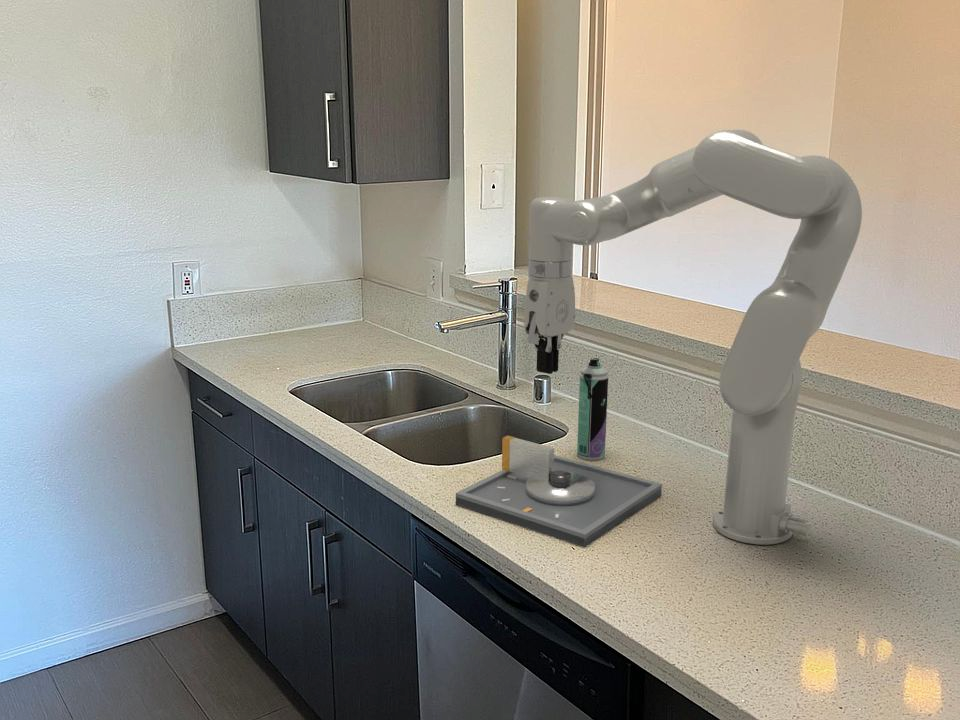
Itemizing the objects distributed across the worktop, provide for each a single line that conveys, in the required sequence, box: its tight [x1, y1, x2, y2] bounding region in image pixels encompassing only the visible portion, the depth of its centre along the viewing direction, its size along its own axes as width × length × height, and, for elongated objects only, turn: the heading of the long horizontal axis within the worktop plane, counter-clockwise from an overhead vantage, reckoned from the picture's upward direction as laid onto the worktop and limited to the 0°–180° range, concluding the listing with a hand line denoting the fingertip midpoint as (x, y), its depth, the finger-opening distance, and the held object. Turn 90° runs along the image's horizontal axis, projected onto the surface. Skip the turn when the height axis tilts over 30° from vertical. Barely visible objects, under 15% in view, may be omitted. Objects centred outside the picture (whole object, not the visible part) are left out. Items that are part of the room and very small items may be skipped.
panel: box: [455, 454, 663, 548], centre depth 161 cm, size 26×26×2 cm
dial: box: [501, 435, 595, 506], centre depth 162 cm, size 18×12×8 cm, turn 52°
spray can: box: [576, 357, 609, 462], centre depth 180 cm, size 6×6×20 cm
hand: (547, 371), depth 164 cm, fingers closed
